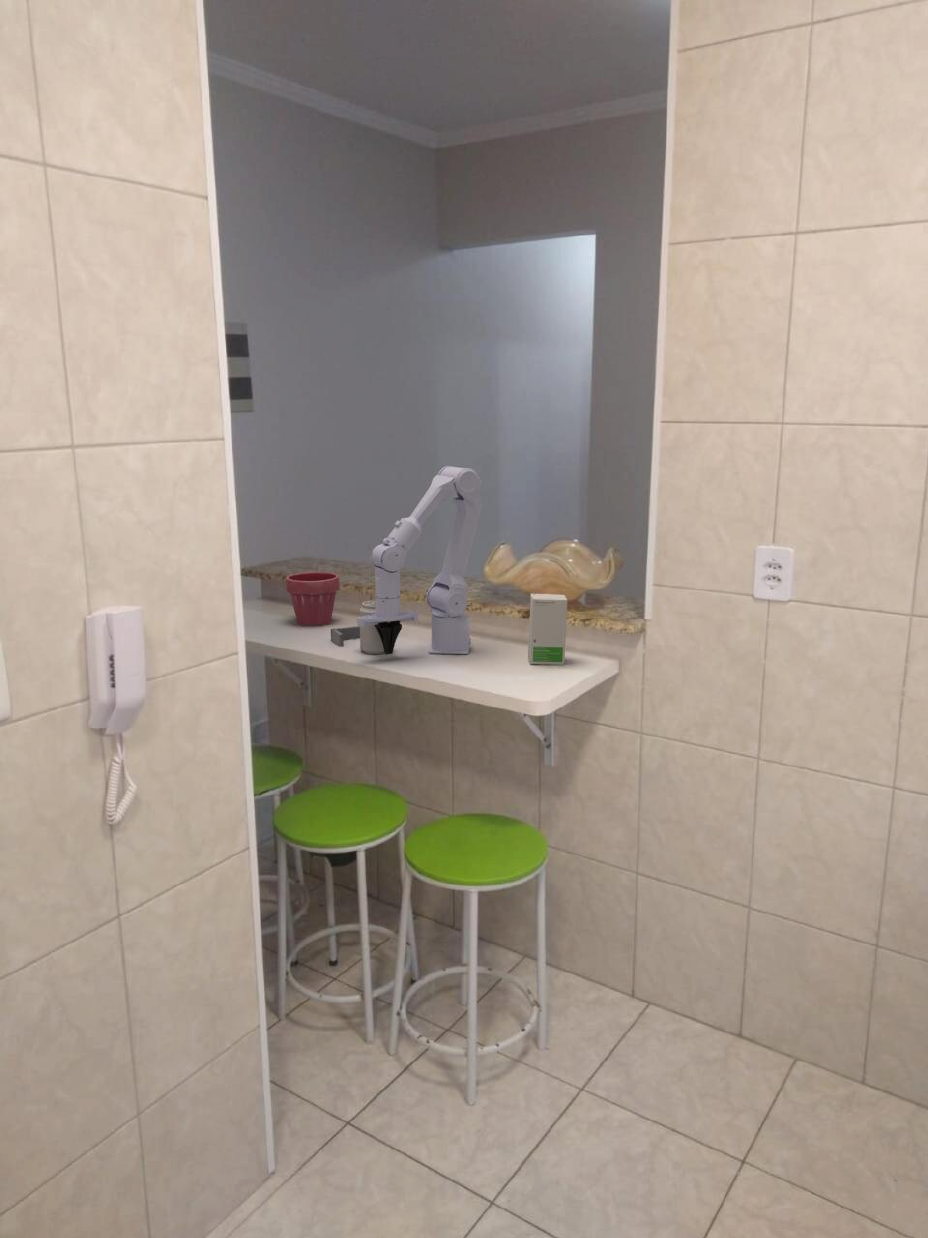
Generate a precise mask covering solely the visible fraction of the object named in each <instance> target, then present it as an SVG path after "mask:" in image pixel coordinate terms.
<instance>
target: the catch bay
mask: <svg viewBox="0 0 928 1238" xmlns="http://www.w3.org/2000/svg"><path fill="white" fill-rule="evenodd" d="M355 639H360V626H358V625H355V626H354V625H353V626H347V627H337V628H330V641H331V642H332V643H335V645H337V646H338V647H344V645H345V644H344V643H345V642H344V641H347V640H355Z"/></svg>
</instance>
